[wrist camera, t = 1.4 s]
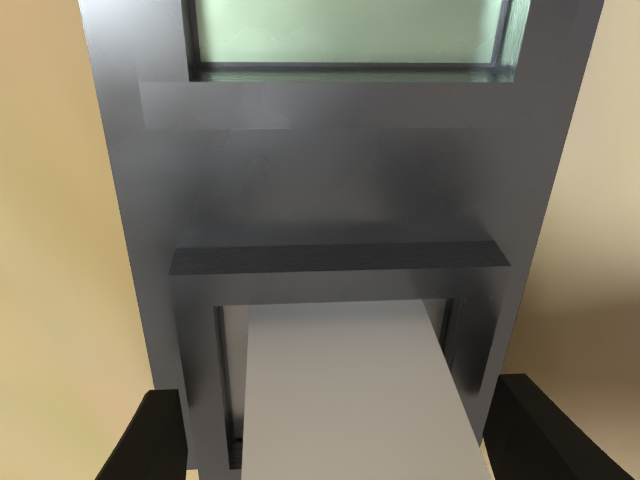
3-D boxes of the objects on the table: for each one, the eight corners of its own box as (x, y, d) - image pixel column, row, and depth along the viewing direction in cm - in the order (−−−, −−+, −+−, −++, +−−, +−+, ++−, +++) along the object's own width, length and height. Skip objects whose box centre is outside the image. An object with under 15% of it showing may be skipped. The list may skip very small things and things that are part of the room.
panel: (687, -447, 7) (811, -551, 6) (467, 426, 17) (489, 484, 15) (5, -505, 7) (-84, -645, 5) (175, 441, 16) (164, 503, 14)
